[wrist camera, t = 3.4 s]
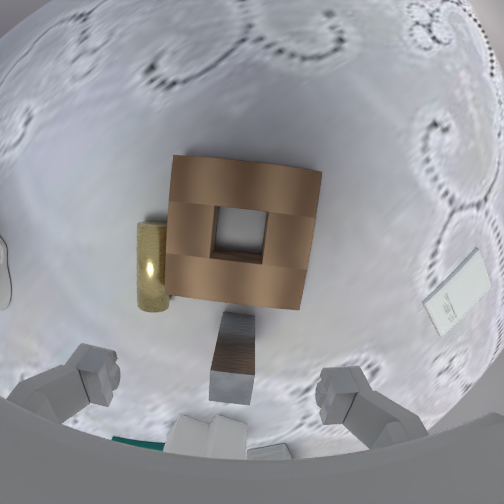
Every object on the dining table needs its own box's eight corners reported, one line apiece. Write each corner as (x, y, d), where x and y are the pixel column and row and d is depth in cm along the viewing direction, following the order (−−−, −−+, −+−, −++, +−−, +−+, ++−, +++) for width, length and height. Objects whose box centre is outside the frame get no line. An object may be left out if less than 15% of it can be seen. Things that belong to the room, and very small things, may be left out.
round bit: (156, 295, 36) (175, 306, 34) (131, 303, 33) (150, 315, 31) (158, 220, 34) (179, 226, 32) (131, 222, 31) (150, 229, 28)
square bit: (220, 338, 37) (208, 400, 25) (223, 312, 36) (210, 370, 24) (251, 342, 37) (249, 405, 25) (254, 315, 36) (254, 375, 24)
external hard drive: (486, 283, 35) (436, 333, 37) (473, 246, 34) (419, 300, 36) (491, 286, 34) (441, 338, 36) (479, 249, 32) (425, 305, 34)
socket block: (173, 281, 35) (164, 294, 31) (182, 157, 31) (173, 155, 27) (294, 296, 35) (299, 310, 31) (314, 172, 31) (322, 171, 27)
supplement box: (246, 449, 43) (244, 504, 31) (285, 442, 42) (291, 498, 30) (257, 467, 45) (257, 517, 33) (294, 460, 44) (300, 512, 32)
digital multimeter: (110, 434, 44) (106, 443, 41) (176, 442, 44) (173, 453, 41) (124, 453, 46) (120, 463, 43) (187, 461, 45) (184, 472, 43)
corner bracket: (246, 423, 41) (244, 481, 29) (221, 454, 44) (215, 504, 32) (185, 402, 40) (169, 459, 28) (167, 436, 43) (152, 485, 31)
